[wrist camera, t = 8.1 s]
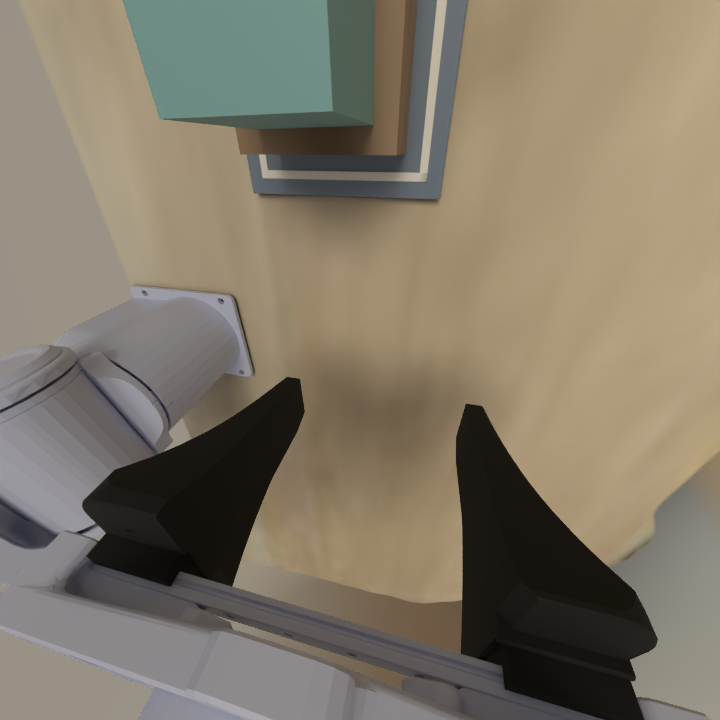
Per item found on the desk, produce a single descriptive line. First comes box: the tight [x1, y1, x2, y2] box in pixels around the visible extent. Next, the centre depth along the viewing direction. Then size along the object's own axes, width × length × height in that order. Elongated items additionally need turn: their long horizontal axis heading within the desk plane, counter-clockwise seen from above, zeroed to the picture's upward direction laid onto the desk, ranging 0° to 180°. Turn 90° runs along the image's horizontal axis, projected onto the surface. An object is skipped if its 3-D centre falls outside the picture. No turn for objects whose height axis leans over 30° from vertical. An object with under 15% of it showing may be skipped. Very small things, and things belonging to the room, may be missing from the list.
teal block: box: [123, 0, 375, 129], centre depth 8 cm, size 5×5×6 cm
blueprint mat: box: [247, 0, 467, 199], centre depth 14 cm, size 11×11×1 cm
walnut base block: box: [235, 0, 417, 155], centre depth 12 cm, size 7×7×4 cm
